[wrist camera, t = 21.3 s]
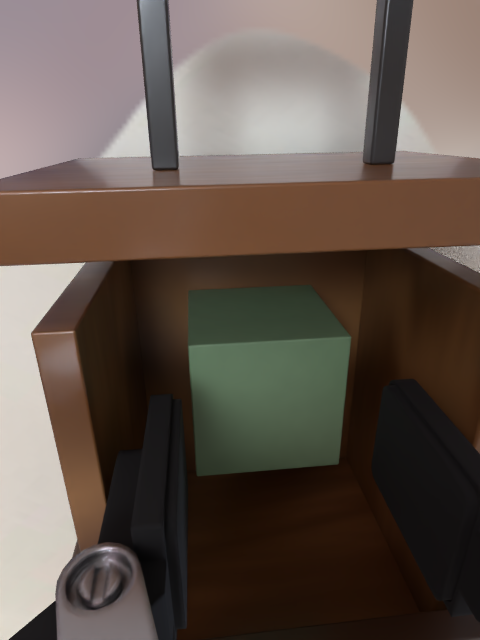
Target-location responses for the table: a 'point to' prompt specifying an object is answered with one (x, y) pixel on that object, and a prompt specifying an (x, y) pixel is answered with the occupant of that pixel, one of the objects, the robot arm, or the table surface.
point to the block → (265, 379)
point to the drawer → (244, 272)
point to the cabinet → (375, 628)
